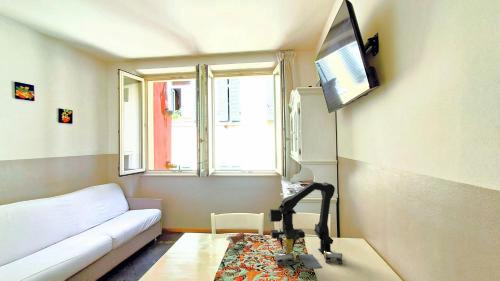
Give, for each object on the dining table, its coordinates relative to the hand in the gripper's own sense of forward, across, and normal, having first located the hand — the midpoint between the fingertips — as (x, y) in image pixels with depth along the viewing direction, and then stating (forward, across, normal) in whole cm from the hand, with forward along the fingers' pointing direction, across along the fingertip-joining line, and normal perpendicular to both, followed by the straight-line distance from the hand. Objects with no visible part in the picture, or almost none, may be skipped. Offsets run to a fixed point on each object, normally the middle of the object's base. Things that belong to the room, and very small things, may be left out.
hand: (287, 248), depth 134 cm
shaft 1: (+3, -4, -10) cm, 11 cm away
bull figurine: (+3, -28, +13) cm, 31 cm away
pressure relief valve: (+3, -2, -2) cm, 4 cm away
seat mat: (+2, +10, -10) cm, 14 cm away
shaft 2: (+2, +22, -12) cm, 25 cm away
